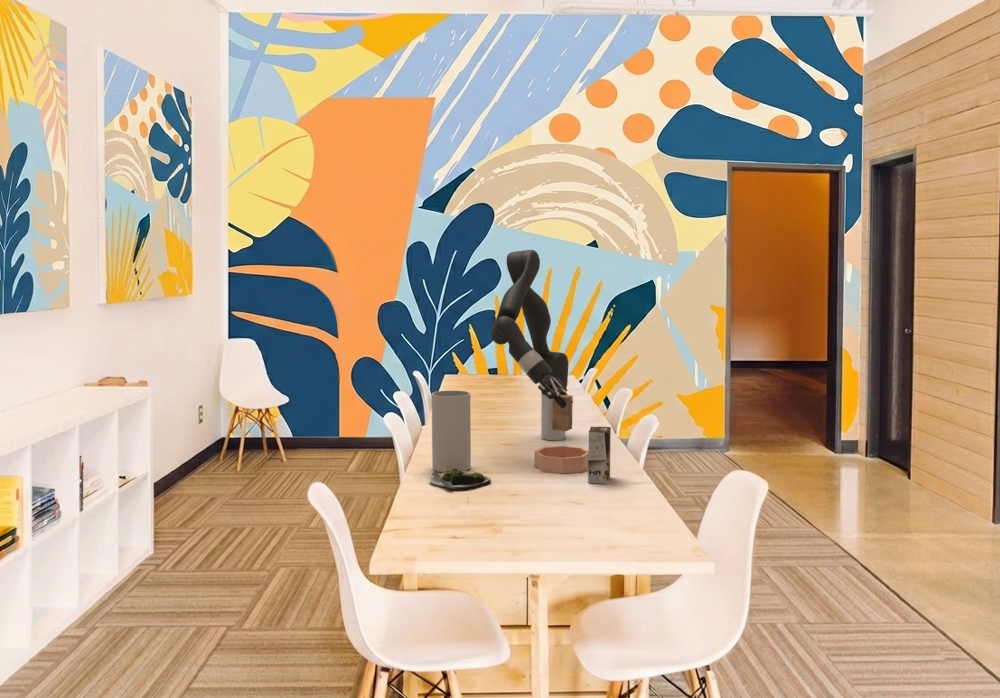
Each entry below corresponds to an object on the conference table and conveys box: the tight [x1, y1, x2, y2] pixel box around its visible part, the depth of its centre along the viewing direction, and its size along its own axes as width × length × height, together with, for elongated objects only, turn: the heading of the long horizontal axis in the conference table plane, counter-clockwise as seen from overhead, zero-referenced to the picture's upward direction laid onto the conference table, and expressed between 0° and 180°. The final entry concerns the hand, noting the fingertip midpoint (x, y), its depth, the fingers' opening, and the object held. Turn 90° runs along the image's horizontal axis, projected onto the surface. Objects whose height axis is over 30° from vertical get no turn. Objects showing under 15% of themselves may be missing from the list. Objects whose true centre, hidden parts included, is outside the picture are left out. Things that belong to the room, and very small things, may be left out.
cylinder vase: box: [431, 389, 472, 474], centre depth 269 cm, size 12×12×25 cm
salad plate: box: [429, 468, 492, 492], centre depth 254 cm, size 19×18×5 cm
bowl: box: [533, 445, 589, 475], centre depth 273 cm, size 17×17×5 cm
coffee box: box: [587, 426, 612, 485], centre depth 256 cm, size 9×6×16 cm
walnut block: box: [552, 394, 574, 432], centre depth 271 cm, size 5×5×11 cm
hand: (567, 405), depth 270 cm, fingers closed on walnut block, 5 cm apart
